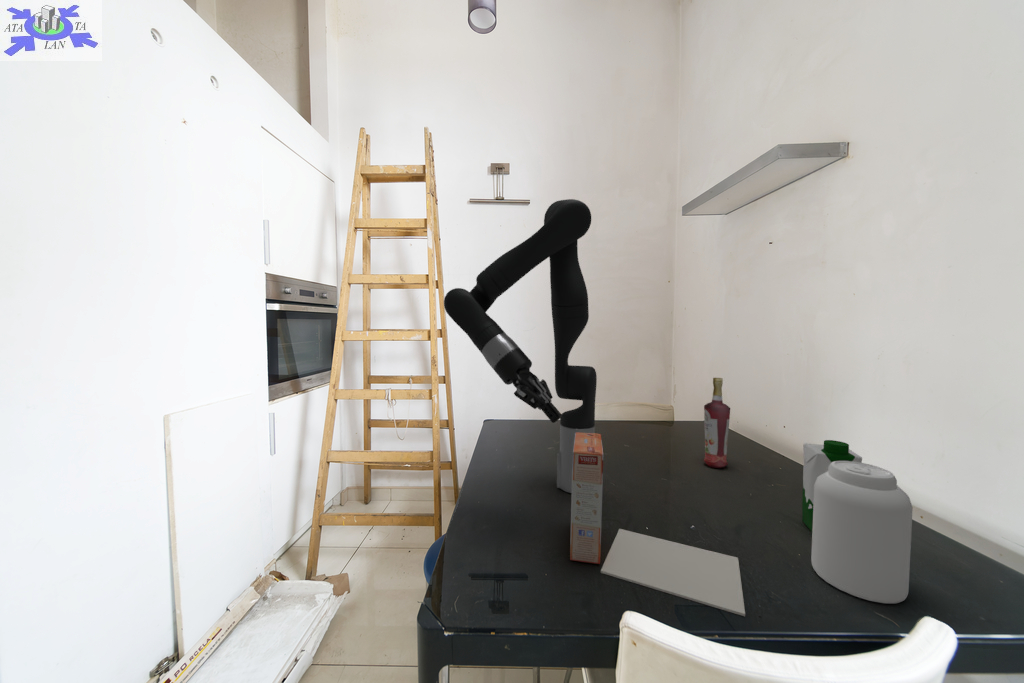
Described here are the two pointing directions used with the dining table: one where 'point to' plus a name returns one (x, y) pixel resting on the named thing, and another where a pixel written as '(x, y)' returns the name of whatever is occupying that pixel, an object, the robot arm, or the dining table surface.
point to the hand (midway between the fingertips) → (557, 419)
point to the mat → (677, 570)
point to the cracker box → (586, 498)
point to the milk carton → (820, 470)
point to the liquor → (716, 428)
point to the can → (862, 532)
